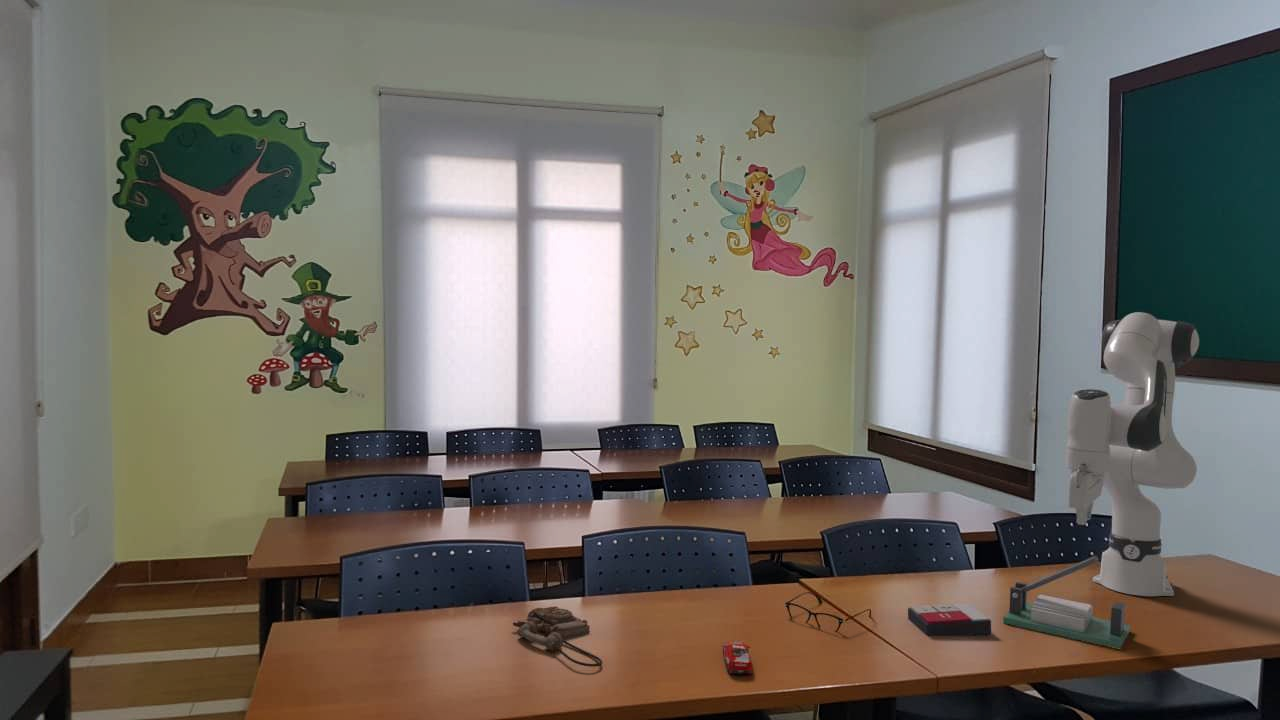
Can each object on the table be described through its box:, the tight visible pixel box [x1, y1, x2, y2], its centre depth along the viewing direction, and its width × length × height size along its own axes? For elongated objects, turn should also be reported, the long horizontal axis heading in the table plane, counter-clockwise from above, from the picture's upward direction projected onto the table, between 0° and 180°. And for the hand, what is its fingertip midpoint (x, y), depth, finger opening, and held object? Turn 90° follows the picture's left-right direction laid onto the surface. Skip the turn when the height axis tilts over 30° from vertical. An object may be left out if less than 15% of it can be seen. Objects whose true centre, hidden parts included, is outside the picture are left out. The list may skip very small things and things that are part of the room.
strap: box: [1021, 555, 1100, 594], centre depth 196 cm, size 3×20×1 cm
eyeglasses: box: [784, 592, 872, 633], centre depth 199 cm, size 16×16×4 cm
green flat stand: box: [1002, 581, 1131, 649], centre depth 195 cm, size 14×24×8 cm, turn 53°
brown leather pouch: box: [512, 605, 603, 668], centre depth 180 cm, size 15×33×4 cm, turn 37°
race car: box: [722, 641, 754, 675], centre depth 171 cm, size 13×5×4 cm, turn 178°
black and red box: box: [907, 603, 992, 637], centre depth 194 cm, size 11×4×15 cm
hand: (1083, 521), depth 193 cm, fingers open, 4 cm apart
